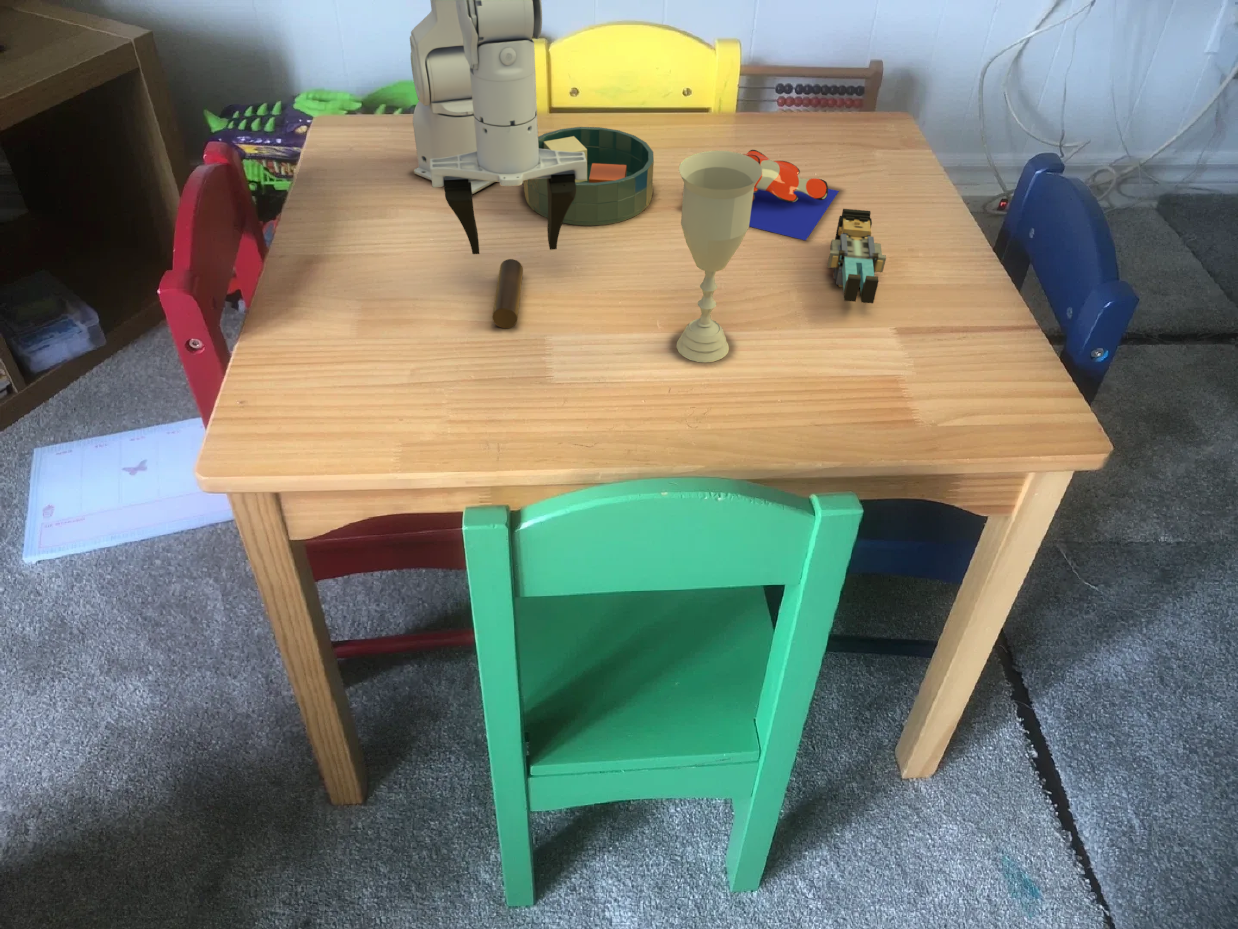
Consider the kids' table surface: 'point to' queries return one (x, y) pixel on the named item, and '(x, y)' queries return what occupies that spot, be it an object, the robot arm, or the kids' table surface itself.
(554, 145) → the cream block
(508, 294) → the dark brown cylinder
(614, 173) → the terracotta block
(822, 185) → the fish
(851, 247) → the toy
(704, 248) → the chalice
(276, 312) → the kids' table surface
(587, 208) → the bowl
